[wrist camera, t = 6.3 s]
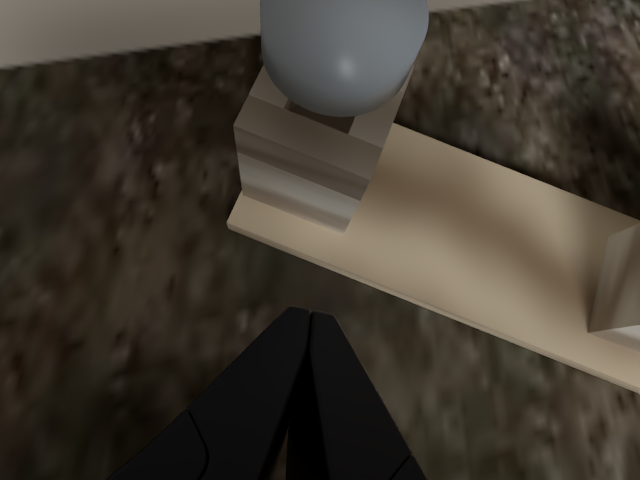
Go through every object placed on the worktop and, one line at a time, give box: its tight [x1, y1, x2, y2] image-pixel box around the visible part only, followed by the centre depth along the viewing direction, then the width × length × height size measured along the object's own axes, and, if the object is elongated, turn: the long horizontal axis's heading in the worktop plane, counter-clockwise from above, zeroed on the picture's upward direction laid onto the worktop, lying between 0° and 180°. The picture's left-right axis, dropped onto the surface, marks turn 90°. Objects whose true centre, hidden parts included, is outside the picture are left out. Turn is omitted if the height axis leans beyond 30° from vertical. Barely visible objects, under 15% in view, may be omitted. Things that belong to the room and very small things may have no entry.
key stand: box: [227, 63, 640, 394], centre depth 21 cm, size 8×22×8 cm, turn 69°
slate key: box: [260, 0, 429, 117], centre depth 15 cm, size 5×5×3 cm
